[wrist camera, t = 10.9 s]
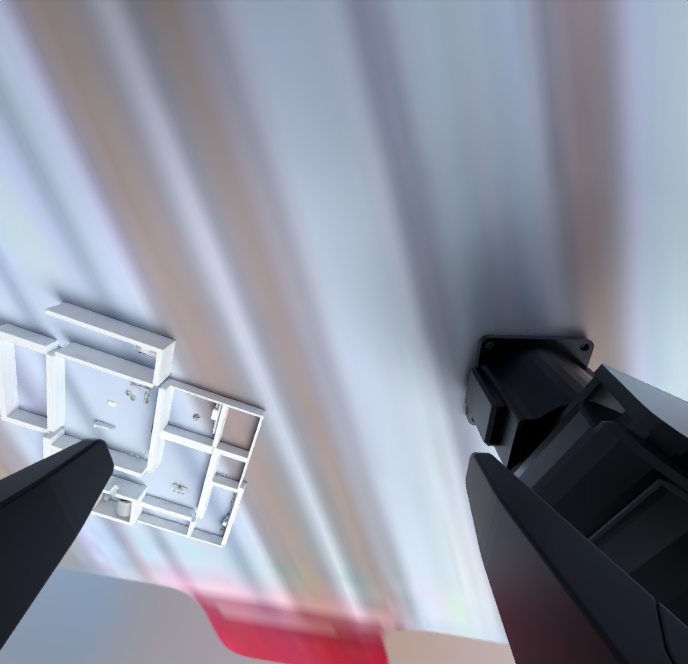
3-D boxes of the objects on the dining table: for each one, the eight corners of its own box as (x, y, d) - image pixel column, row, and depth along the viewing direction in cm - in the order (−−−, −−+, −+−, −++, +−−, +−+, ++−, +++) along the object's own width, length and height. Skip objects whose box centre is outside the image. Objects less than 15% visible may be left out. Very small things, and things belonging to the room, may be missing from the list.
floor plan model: (-83, 245, 21) (-126, 250, 19) (284, 373, 23) (276, 389, 21) (-47, 450, 28) (-75, 468, 26) (229, 535, 30) (220, 557, 28)
